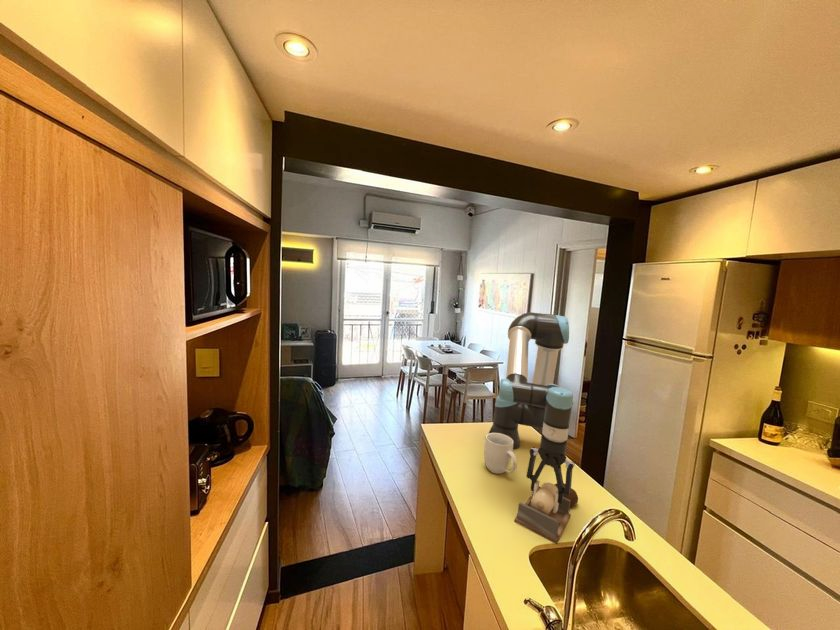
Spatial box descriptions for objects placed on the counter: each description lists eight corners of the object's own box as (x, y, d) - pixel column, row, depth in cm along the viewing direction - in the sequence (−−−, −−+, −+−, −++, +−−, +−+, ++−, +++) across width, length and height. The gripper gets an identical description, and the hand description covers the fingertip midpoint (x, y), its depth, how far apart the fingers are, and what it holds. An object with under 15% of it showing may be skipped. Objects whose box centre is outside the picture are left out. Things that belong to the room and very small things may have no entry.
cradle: (531, 498, 119) (533, 482, 118) (570, 516, 111) (572, 499, 110) (514, 521, 106) (516, 503, 105) (556, 543, 98) (559, 524, 98)
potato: (581, 511, 114) (584, 492, 114) (551, 508, 114) (554, 489, 114) (572, 498, 121) (575, 480, 121) (543, 495, 121) (546, 477, 121)
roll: (541, 497, 113) (541, 479, 113) (559, 504, 110) (560, 485, 110) (530, 511, 105) (531, 492, 105) (550, 518, 102) (550, 499, 102)
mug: (523, 478, 131) (527, 446, 130) (503, 485, 125) (508, 452, 124) (495, 459, 144) (499, 430, 142) (476, 465, 137) (480, 435, 136)
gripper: (520, 430, 109) (512, 497, 111) (584, 452, 97) (573, 526, 99) (528, 424, 115) (520, 487, 117) (589, 444, 103) (578, 514, 105)
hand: (544, 505), depth 108 cm, fingers closed on roll, 6 cm apart
